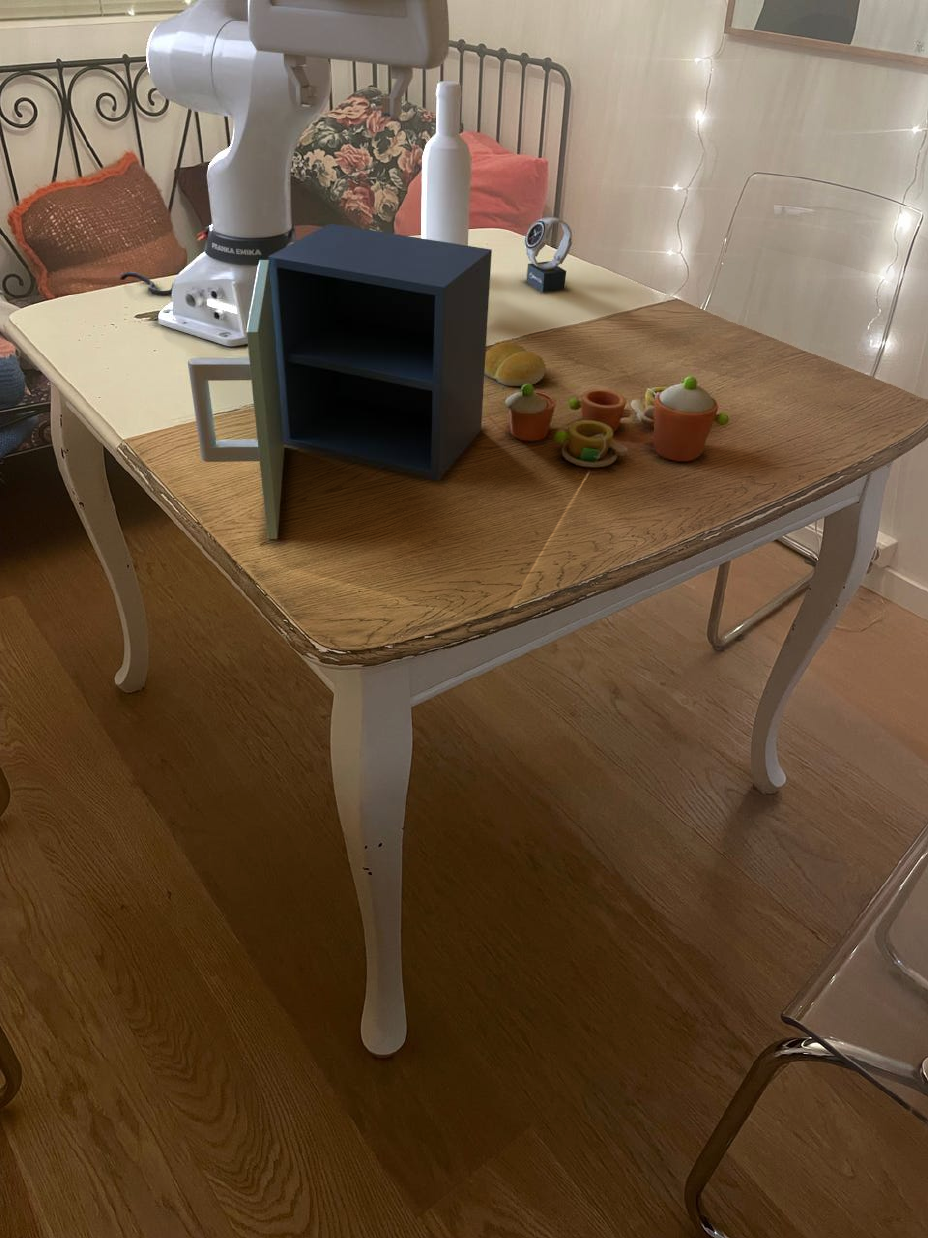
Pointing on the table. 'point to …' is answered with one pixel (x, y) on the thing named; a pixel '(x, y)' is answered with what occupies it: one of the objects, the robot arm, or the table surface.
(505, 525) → the table surface
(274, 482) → the cupboard door
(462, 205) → the bottle
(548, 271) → the watch
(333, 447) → the cupboard
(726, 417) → the toy tea set
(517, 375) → the bread roll
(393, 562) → the table surface
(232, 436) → the table surface
